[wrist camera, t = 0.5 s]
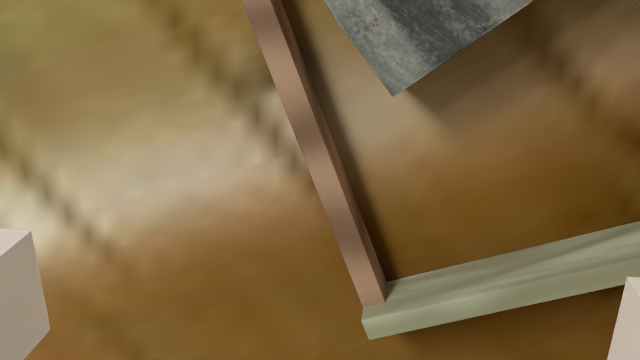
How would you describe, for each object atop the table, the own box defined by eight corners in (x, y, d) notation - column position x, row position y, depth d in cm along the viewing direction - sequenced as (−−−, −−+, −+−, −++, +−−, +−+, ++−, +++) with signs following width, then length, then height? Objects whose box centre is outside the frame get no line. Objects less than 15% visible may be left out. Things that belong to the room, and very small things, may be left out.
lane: (216, -98, 34) (193, -101, 31) (654, -289, 29) (689, -321, 25) (372, 304, 43) (368, 339, 39) (732, 221, 37) (768, 253, 34)
